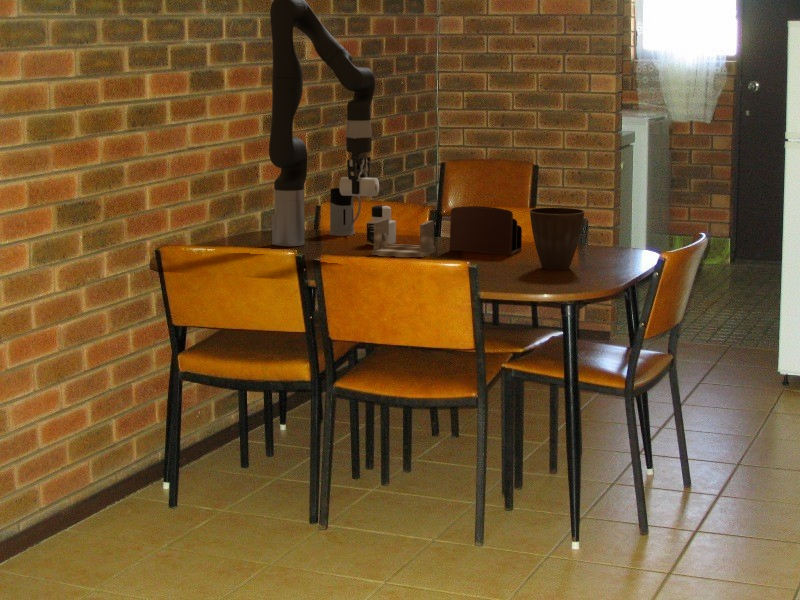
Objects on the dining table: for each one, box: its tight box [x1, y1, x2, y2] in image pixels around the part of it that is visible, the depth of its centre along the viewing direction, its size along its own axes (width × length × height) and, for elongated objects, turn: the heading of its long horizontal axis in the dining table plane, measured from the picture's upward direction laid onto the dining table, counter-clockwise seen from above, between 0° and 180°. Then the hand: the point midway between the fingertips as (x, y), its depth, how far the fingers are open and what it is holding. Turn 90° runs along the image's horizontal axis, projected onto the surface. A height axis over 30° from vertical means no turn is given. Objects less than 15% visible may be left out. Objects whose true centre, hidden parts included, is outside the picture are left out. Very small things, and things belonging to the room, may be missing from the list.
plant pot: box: [529, 207, 585, 271], centre depth 333 cm, size 15×15×16 cm
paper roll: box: [338, 176, 380, 197], centre depth 360 cm, size 11×6×6 cm, turn 72°
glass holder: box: [328, 187, 362, 237], centre depth 398 cm, size 9×14×15 cm, turn 40°
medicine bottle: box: [366, 204, 397, 246], centre depth 379 cm, size 7×7×12 cm
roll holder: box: [371, 219, 436, 258], centre depth 359 cm, size 15×14×10 cm
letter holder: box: [449, 205, 523, 256], centre depth 365 cm, size 10×20×14 cm, turn 66°
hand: (359, 192), depth 360 cm, fingers closed on paper roll, 5 cm apart
